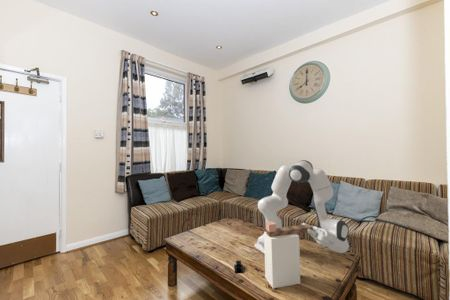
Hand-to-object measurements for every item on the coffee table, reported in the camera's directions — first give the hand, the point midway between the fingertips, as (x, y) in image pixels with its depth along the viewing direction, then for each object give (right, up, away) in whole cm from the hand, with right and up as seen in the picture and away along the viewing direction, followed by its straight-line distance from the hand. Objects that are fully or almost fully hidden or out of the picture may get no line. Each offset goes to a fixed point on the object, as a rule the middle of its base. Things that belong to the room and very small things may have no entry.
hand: (304, 227), depth 120 cm
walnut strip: (-9, -2, -2) cm, 9 cm away
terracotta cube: (-20, 0, -4) cm, 20 cm away
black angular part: (-37, -30, +10) cm, 48 cm away
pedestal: (-13, -28, -3) cm, 31 cm away
